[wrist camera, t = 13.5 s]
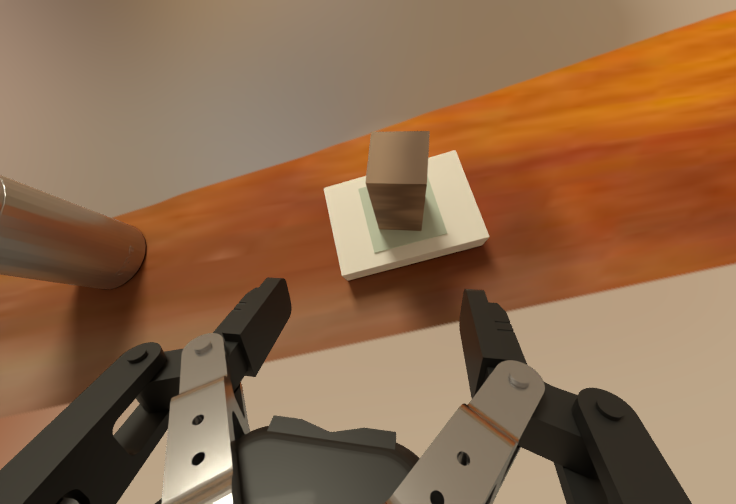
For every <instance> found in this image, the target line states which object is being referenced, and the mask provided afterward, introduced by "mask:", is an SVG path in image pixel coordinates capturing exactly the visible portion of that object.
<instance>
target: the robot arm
mask: <svg viewBox="0 0 736 504" xmlns="http://www.w3.org/2000/svg"><path fill="white" fill-rule="evenodd" d="M145 248H146V245H145V239H144V237H143V235H142V233H141V232H140V231H139V230H138V229H137V228H135V227H133V226H130V225H128V224H125V223H123V222H120V221H118V220H115V219H113V218H110V217H107V216H105V215H103V214H100V213H97V212H95V211H92V210H90V209H87V208H85V207H82V206H79V205H77V204H74V203H71V202H69V201H66V200H64V199H61V198H59V197H56V196H53V195H50V194H48V193H46V192H43V191H41V190H38V189H35V188H33V187H30V186H28V185H25V184H22V183H20V182H17V181H15V180H12V179H10V178H7V177H4V176H2V175H0V274H1V275H8V276H15V277H22V278H29V279H36V280H43V281H50V282H57V283H64V284H70V285H77V286H84V287H91V288H99V289H113V288H116V287H119V286H121V285H122V284H124V283H126V282H127V281H128V280H129V279H131V278H132V277H133V276H134V274H135V273H136V272H137V271H138V269H139V268H140V266H141V264H142V261H143V259H144V255H145ZM290 314H291V301H290V296H289V292H288V287H287V283H286V280H285V279H284V278H266V279H265V281H264V282H263V283H262V284H261V286H260V287H259V288H255V289H253V290H252V291H250V292H249V293H247V294H246V295H245V296H244V297H243V298H242V299H241V301H240V302H239V304H237V305H236V306H235V308H234V310H232V311H231V312H230V313H229V315H228V316H227V317H226V318H225V319H224V320H223V322H222V323H221V324H220V325H219V326H218V327H217V329H216V330H215V331H214V332H213V333H208V334H204V335H201V336H199V337H197V338H195V339H193V340H192V341H190V342H189V343H188V344H187V345H186V346H185V348H184V349H178V350H172V351H166V352H163V350H162V348H161V346H160V345H159V344H158V343H154V342H149V343H144V344H141V345H138V346H136V347H134V348H132V349H130V350H128V351H127V352H125V353H124V354H123V355H122V356H121V357H119V358H118V359H117V360H116V361H115V362H114V363H113V364H112V365H111V366H110V367H109V368H108V369H107V370H106V371H105V372H104V373H103V374H101V375H100V376H99V377H98V378H97V379H96V380H95V381H94V382H93V383H92V384H91V385H90V386H89V387H88V388H87V389H86V390H85V391H84V392H82V393H81V394H80V395H79V396H78V397H77V398H76V399H75V400H74V401H73V402H72V403H71V404H70V405H69V406H68V407H67V408H66V409H64V410H63V411H62V412H61V413H60V414H59V415H58V416H57V417H56V418H55V419H54V420H53V421H52V422H51V423H50V424H49V425H48V426H47V427H45V428H44V429H43V430H42V431H41V432H40V433H39V434H38V435H37V436H36V437H35V438H34V439H33V440H32V441H31V442H30V443H29V444H27V445H26V446H25V447H24V448H23V449H22V450H21V451H20V452H19V453H18V454H17V455H16V456H15V457H14V458H13V459H12V460H11V461H10V462H8V463H7V464H6V465H5V466H4V467H3V468H2V469H1V470H0V504H116V503H117V502H118V500H119V499H120V498H121V496H122V495H123V493H124V492H125V490H126V489H127V487H128V486H129V484H130V483H131V481H132V480H133V479H134V477H135V476H136V474H137V473H138V471H139V470H140V468H141V467H142V466H143V464H144V463H145V461H146V460H147V458H148V457H149V455H150V453H151V452H152V451H153V450H154V448H155V447H156V445H157V444H158V442H159V441H160V439H161V438H162V436H163V435H164V433H165V432H166V430H167V429H168V437H167V447H166V458H165V470H164V481H163V493H162V499H160V500H159V501H158V502H157V503H155V504H493V501H494V499H495V497H496V495H497V493H498V491H499V489H500V487H501V485H502V483H503V481H504V479H505V477H506V475H507V473H508V471H509V469H510V467H511V466H512V464H513V462H514V460H515V458H516V456H517V454H518V452H519V450H520V448H521V447H522V448H524V449H526V450H529V451H531V452H533V453H535V454H537V455H540V456H542V457H544V458H546V459H548V460H551V461H553V462H554V465H555V467H556V471H557V474H558V477H559V480H560V484H561V487H562V490H563V493H564V496H565V500H566V503H567V504H692V503H691V501H690V500H689V498H688V496H687V495H686V493H685V492H684V490H683V488H682V487H681V485H680V484H679V482H678V480H677V479H676V477H675V475H674V474H673V472H672V471H671V469H670V467H669V466H668V464H667V462H666V461H665V459H664V458H663V456H662V454H661V453H660V451H659V449H658V448H657V446H656V445H655V443H654V441H653V440H652V438H651V436H650V435H649V433H648V432H647V430H646V429H645V427H644V425H643V423H642V422H641V420H640V419H639V417H638V415H637V414H636V413H635V411H634V410H633V409H632V408H631V407H630V406H629V405H628V404H627V403H626V402H625V401H623V400H622V399H621V398H619V397H618V396H616V395H614V394H612V393H610V392H608V391H605V390H602V389H597V388H586V389H583V390H581V391H580V392H579V394H578V395H575V394H573V393H570V392H567V391H564V390H561V389H558V388H556V387H553V386H551V385H549V384H547V383H545V382H544V381H543V380H542V378H541V376H540V375H539V374H538V373H537V372H536V371H535V370H534V369H533V368H531V367H530V366H528V365H527V363H526V360H525V358H524V356H523V353H522V351H521V348H520V345H519V343H518V340H517V338H516V335H515V333H514V332H513V328H512V326H511V324H510V321H509V318H508V316H507V313H506V312H505V311H504V310H503V309H502V307H501V306H500V305H499V304H498V303H488V300H487V297H486V294H485V292H484V290H472V289H465V290H464V293H463V300H462V306H461V313H460V334H461V340H462V345H463V352H464V357H465V363H466V369H467V374H468V380H469V386H470V391H471V397H472V400H471V401H470V403H469V404H468V405H466V404H462V405H461V406H460V407H459V408H458V410H457V411H456V412H455V413H454V415H453V416H452V417H451V419H450V420H449V421H448V422H447V424H446V425H445V427H444V428H443V429H442V430H441V432H440V433H439V434H438V436H437V437H436V438H435V440H434V441H433V442H432V443H431V445H430V446H429V447H428V449H427V450H426V451H425V453H424V454H423V455H422V457H421V458H419V457H418V456H417V455H415V454H414V453H413V452H412V451H410V450H409V449H407V448H405V447H404V446H402V445H400V444H398V443H396V432H391V431H384V430H377V429H369V428H360V429H352V430H345V431H337V432H329V431H326V430H324V429H322V428H320V427H317V426H316V425H313V424H311V423H309V422H307V421H304V420H302V419H296V418H289V417H281V416H273V418H272V421H271V423H270V425H269V426H266V427H262V428H259V429H256V430H253V431H251V432H250V429H249V424H248V419H247V414H246V406H245V400H244V394H243V388H242V384H241V380H242V379H243V377H244V376H252V377H256V375H257V373H258V371H259V370H260V368H261V366H262V364H263V363H264V361H265V359H266V358H267V356H268V354H269V352H270V351H271V349H272V347H273V345H274V344H275V342H276V340H277V338H278V337H279V335H280V333H281V331H282V330H283V328H284V326H285V324H286V323H287V321H288V319H289V317H290ZM135 398H136V399H137V400H138V402H139V403H140V404H139V406H138V407H137V408H136V409H135V410H134V412H133V413H132V414H131V415H130V416H129V418H128V419H127V420H126V421H125V423H124V424H123V425H122V426H121V427H120V428H119V430H118V431H117V432H116V433H115V434H114V436H113V434H112V430H113V427H114V424H115V422H116V421H117V419H118V418H119V417H120V416H121V414H122V413H123V412H124V411H125V410H126V409H127V408H128V406H129V405H130V404H131V403H132V402H133V400H134V399H135Z"/></svg>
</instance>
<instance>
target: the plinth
mask: <svg viewBox="0 0 736 504" xmlns="http://www.w3.org/2000/svg"><path fill="white" fill-rule="evenodd" d="M324 192H325V197H326V202H327V207H328V211H329V216H330V221H331V226H332V230H333V235H334V240H335V245H336V249H337V254H338V259H339V264H340V268H341V273H342V276H343V277H344V278H345V279H346V280H352V279H356V278H360V277H364V276H367V275H371V274H375V273H379V272H383V271H386V270H390V269H394V268H398V267H402V266H405V265H409V264H413V263H417V262H421V261H424V260H428V259H432V258H436V257H440V256H443V255H447V254H451V253H455V252H459V251H462V250H466V249H470V248H474V247H478V246H481V245H483V244H484V243H485V241H486V240H487V239H488V238H489V234H488V232H487V229H486V227H485V224H484V222H483V219H482V217H481V214H480V212H479V209H478V206H477V204H476V201H475V199H474V196H473V194H472V191H471V189H470V186H469V184H468V181H467V179H466V176H465V173H464V171H463V168H462V166H461V163H460V161H459V158H458V156H457V153H456V151H455V150H454V151H451V152H448V153H444V154H441V155H437V156H434V157H430V158H428V172H427V188H426V196H425V205H424V213H423V222H422V230H421V231H408V230H385V229H379V228H378V224H377V221H376V217H375V214H374V211H373V207H372V204H371V200H370V197H369V194H368V190H367V187H366V176H364V177H361V178H357V179H354V180H350V181H347V182H343V183H340V184H336V185H333V186H329V187H326V188H324Z"/></svg>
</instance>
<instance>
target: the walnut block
mask: <svg viewBox="0 0 736 504" xmlns="http://www.w3.org/2000/svg"><path fill="white" fill-rule="evenodd" d="M428 152H429V131H410V132H371V138H370V147H369V156H368V165H367V174H366V187H367V190H368V194H369V197H370V200H371V204H372V207H373V211H374V214H375V217H376V221H377V224H378V228H379V229H385V230H408V231H421V230H422V222H423V213H424V205H425V196H426V188H427V172H428Z"/></svg>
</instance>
